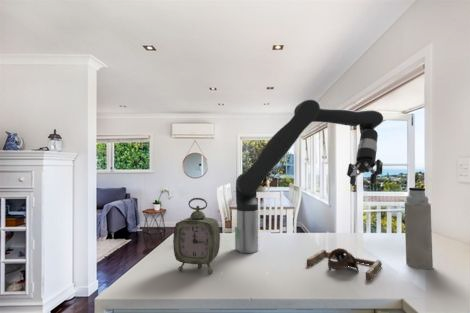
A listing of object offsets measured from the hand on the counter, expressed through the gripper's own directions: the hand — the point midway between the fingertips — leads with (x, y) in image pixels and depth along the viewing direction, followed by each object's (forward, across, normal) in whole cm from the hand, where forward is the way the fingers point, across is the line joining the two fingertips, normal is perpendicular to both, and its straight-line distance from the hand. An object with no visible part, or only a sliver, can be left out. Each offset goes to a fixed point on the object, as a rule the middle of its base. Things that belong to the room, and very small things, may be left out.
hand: (362, 184), depth 113 cm
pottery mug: (+36, +1, -6) cm, 37 cm away
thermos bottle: (+26, +15, +17) cm, 34 cm away
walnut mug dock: (+35, 0, -4) cm, 35 cm away
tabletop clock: (+52, -28, -44) cm, 74 cm away
